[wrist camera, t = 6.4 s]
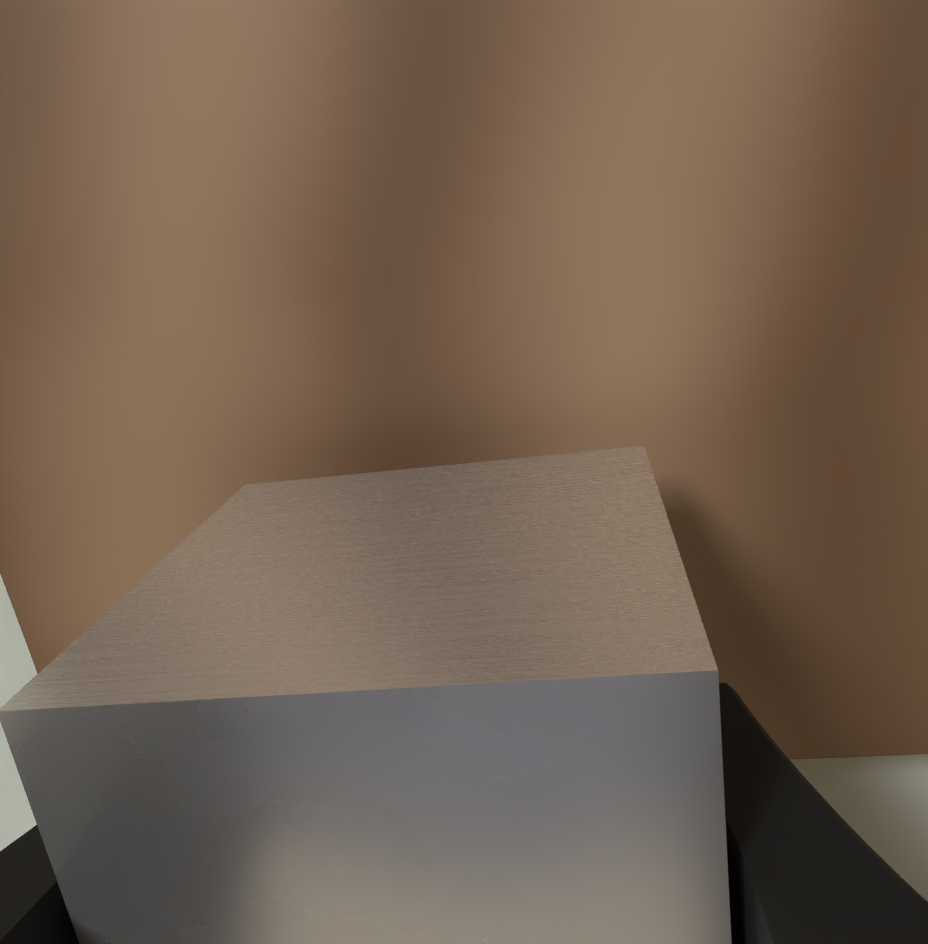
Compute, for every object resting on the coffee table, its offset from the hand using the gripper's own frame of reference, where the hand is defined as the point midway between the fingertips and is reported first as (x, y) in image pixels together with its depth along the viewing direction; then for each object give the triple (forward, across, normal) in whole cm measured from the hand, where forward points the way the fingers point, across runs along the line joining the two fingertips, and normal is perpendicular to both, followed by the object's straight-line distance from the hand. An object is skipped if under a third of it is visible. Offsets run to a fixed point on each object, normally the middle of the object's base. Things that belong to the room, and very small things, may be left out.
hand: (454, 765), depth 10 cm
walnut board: (+5, 0, -4) cm, 6 cm away
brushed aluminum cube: (+2, 0, 0) cm, 2 cm away
